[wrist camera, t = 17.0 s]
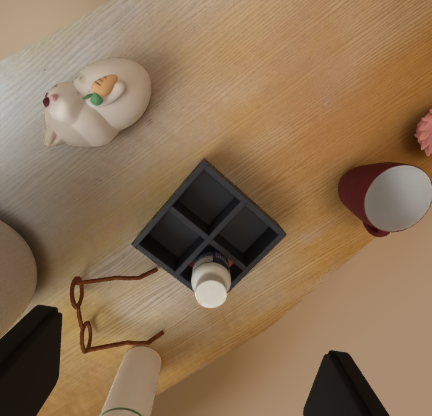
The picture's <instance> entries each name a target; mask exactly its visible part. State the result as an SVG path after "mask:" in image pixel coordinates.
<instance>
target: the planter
mask: <svg viewBox="0 0 432 416" xmlns="http://www.w3.org/2000/svg"><path fill="white" fill-rule="evenodd" d="M36 283H37V268H36V262H35V259H34V256H33V254H32V251H31V250H30V248H29V246H28V244H27V243H26V242H25V240H24V239H23V238H22V237H21V236H20V235H19V234H18V233H17V232H16V231H15V230H14V229H13V228H11V227H10V226H9V225H7V224H6V223H4V222H2V221H1V220H0V338H1V337H2V336H3V335H4V334H5V333H6V332H7V331H8V330H9V328H10V327H11V326H12V325H13V324H14V323H15V322H16V320H17V319H18V318H19V317H20V316H21V314H22V313H23V312H24V310H25V309H26V308H27V306H28V304H29V303H30V301H31V299H32V297H33V294H34V291H35V288H36Z"/></svg>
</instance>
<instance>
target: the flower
mask: <svg viewBox="0 0 432 416" xmlns="http://www.w3.org/2000/svg"><path fill="white" fill-rule="evenodd" d="M429 111H430V112H429V113H428V114H427V115H426V116H425V117H424V118H421V121H419V124H417V128H416V130H415V131H416V134H415V135H414V136H416V137H417V138H418V143H420V144H421V150H423V149H424V150H425V153H426V155H427V157H429V155H430V154H431V153H432V109H429Z"/></svg>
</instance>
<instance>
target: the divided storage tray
mask: <svg viewBox="0 0 432 416" xmlns="http://www.w3.org/2000/svg"><path fill="white" fill-rule="evenodd" d="M285 236H286V233H285V232H284V231H283V229H282V228H281V227H280V226H279V224H278V223H277V222H276V221H275V220H273V219H272V218H271V217H270V216H269V215H268V214H267V213H266V212H264V211H263V210H262V209H261V208H260V207H259V206H258V205H257V204H255V203H254V202H253V201H252V200H251V199H250V198H249V197H248V196H246V195H245V194H244V193H243V192H242V191H241V190H240V189H239V188H237V187H236V186H235V185H234V184H233V183H232V182H231V181H230V180H228V179H227V178H226V177H225V176H224V175H223V174H222V173H221V172H219V171H218V170H217V169H216V168H215V167H214V166H213V165H212V164H210V163H209V162H208V161H207V160H206V159H205V158H204V159H203V160H202V161H201V162H200V163H199V165H198V166H197V167H196V168H195V169H194V170H193V172H192V173H191V174H190V175H189V176H188V177H187V179H186V180H185V181H184V182H183V183H182V184H181V186H180V187H179V188H178V189H177V190H176V191H175V193H174V194H173V195H172V196H171V197H170V198H169V200H168V201H167V202H166V203H165V204H164V205H163V207H162V208H161V209H160V210H159V211H158V212H157V214H156V215H155V216H154V217H153V218H152V219H151V221H150V222H149V223H148V224H147V225H146V226H145V228H144V229H143V230H142V231H141V232H140V234H139V235H138V236H137V237H136V239H135V240H134V241H133V243H132V244H131V245H132V246H134V247H135V248H136V249H138V250H139V251H140V252H142V253H143V254H144V255H146V256H147V257H148V258H150V259H151V260H152V261H154V262H155V263H156V264H158V265H159V266H160V267H162V268H163V269H164V270H166V271H167V272H168V273H170V274H171V275H172V276H174V277H175V278H177V279H178V280H179V281H180V282H182V283H183V284H184V285H186V286H187V287H188V288H190V289H191V290H192V291H194V290H193V288H192V284H191V278H192V271H193V264H194V259H195V258H196V257H197V256H198V255H199V254H200V252H201V251H202V250H203V249H204V248H205V247H206V246H207V245H212V246H213V247H214V248H216V249H217V250H218V251H219V252H221V253H222V254H223V255H224V256H226V257H227V258H228V263H229V269H230V276H231V286H230V289H229V291H230V290H231V289H232V288H233V287H234V286H235V285H236V284H237V283H238V282H239V281H240V280H241V279H242V278H243V277H244V276H245V275H246V274H247V273H248V272H249V271H250V270H251V269H252V268H253V267H254V266H255V265H256V264H257V263H258V262H259V261H260V260H261V259H263V258H264V257H265V256H266V255H267V254H268V253H269V252H270V251H271V250H272V249H273V248H274V247H275V246H276V245H277V244H278V243H279V242H280V241H281V240H282V239H283V238H284V237H285ZM229 291H228V292H229ZM228 292H227V293H228Z"/></svg>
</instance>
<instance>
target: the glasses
mask: <svg viewBox="0 0 432 416" xmlns="http://www.w3.org/2000/svg"><path fill="white" fill-rule="evenodd" d="M157 271H158V269H157V268H154V269H152V270H150V271H148V272H145V273H143V274H141V275H139V276H112V277H104V278H97V279H90V280H82V279H81V277H79V276H77V277H74V278H73V280H72V283H71V286H70V300H71V304H72V306H73V308H74V309H77V317H78V322H79V326H80V328H81V332H80V346H81V350H82V353H84V354H85V353H88V352H91V351H97V350H102V349H107V348H113V347H118V346H123V345H135V346H141V345H149V344H151V343H152V342H154V341H155V340H156V339H158V338H159V337H161V336H162V335H164V332H163V331H161V332H159V333H158V334H156V335H155V336H153V337H152V338H151V339H149V340H148V341H129V340H127V341H122V342H116V343H111V344H105V345H100V346H95V347H90V346H91V341H92V328H91V324H90V322H89V321H85V322H84V324H83V321H82V316H81V311H80V306H81V303H82V300H83V295H84V289H83V284H89V283H97V282H104V281H111V280H140V279H142V278H144V277H146V276H148V275H151V274H153V273H155V272H157ZM75 285H79V286H80V298H79V301H78V303H77V304H76V302H75V298H74V287H75ZM86 326H87V327H88V331H89V339H88V344H87V347H86V348H85V346H84V331H85V328H86Z"/></svg>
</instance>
